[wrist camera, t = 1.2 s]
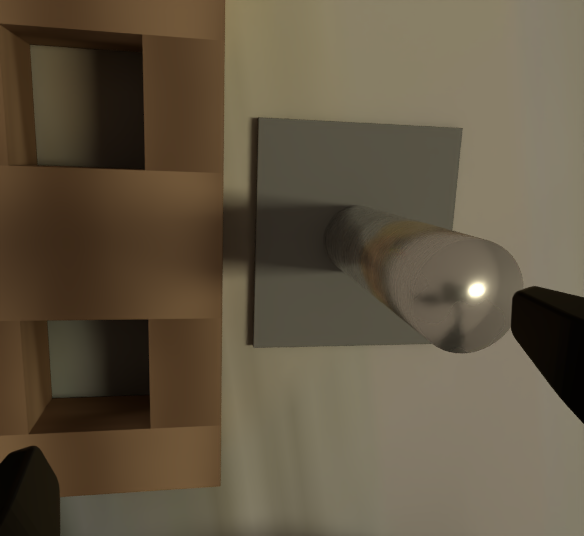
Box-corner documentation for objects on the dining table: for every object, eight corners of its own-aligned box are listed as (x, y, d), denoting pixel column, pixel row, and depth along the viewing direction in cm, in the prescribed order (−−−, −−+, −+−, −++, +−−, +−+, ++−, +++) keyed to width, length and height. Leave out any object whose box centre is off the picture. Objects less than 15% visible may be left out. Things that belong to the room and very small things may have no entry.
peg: (391, 206, 22) (530, 239, 13) (386, 272, 23) (515, 351, 13) (325, 204, 22) (418, 237, 12) (322, 272, 22) (407, 354, 13)
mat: (459, 128, 22) (462, 128, 22) (438, 341, 24) (440, 343, 24) (258, 117, 21) (258, 117, 21) (253, 345, 23) (253, 347, 23)
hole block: (223, -17, 20) (225, -48, 17) (219, 446, 24) (220, 486, 21) (-58, -44, 18) (-109, -83, 15) (-12, 459, 22) (-45, 503, 19)
